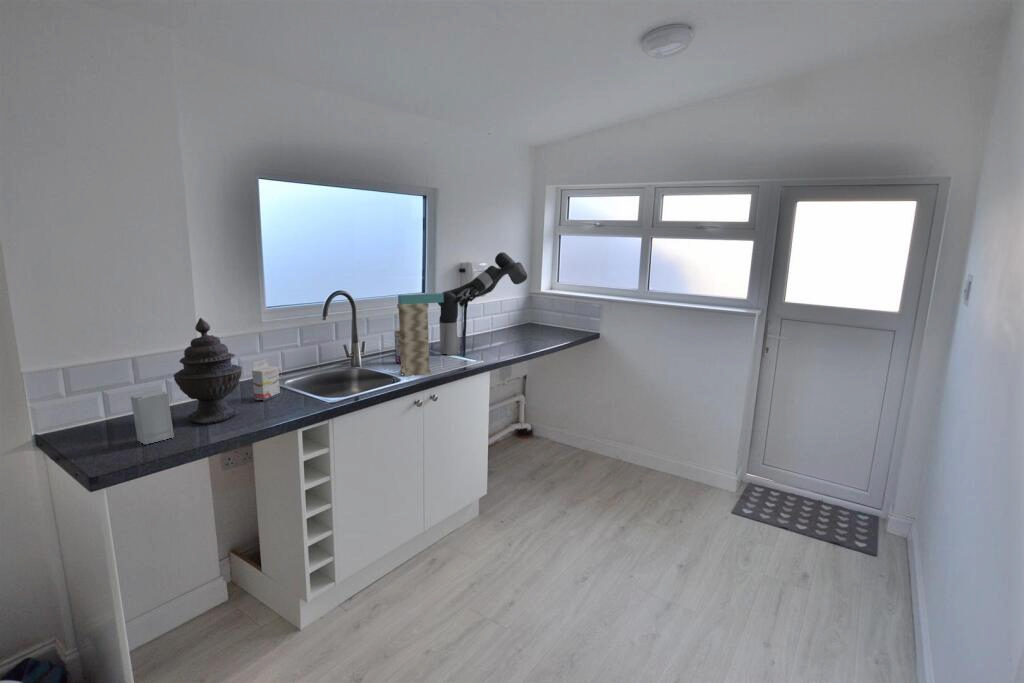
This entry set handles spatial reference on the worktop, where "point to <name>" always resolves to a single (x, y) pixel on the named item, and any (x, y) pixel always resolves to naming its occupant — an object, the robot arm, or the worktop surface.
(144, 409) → the skincare box
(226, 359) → the decorative urn
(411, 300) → the rod
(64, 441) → the worktop surface
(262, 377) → the ink cartridge box
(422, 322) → the beige zigzag patterned block
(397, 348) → the candy bar box
